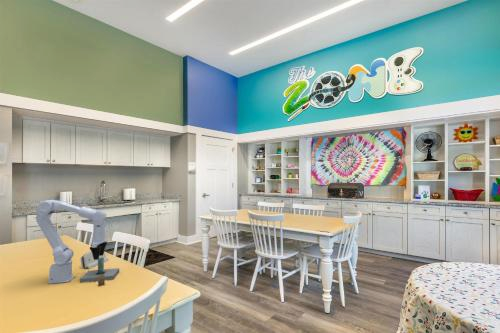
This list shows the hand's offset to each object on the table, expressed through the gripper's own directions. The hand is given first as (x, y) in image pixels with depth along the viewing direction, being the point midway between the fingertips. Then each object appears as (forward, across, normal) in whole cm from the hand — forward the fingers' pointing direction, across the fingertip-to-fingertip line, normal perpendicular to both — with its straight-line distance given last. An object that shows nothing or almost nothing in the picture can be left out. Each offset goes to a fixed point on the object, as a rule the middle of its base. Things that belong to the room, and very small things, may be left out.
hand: (98, 257), depth 143 cm
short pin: (+10, -13, -6) cm, 18 cm away
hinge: (+11, +22, +10) cm, 27 cm away
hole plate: (+10, -1, -2) cm, 11 cm away
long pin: (+10, -2, -2) cm, 11 cm away
